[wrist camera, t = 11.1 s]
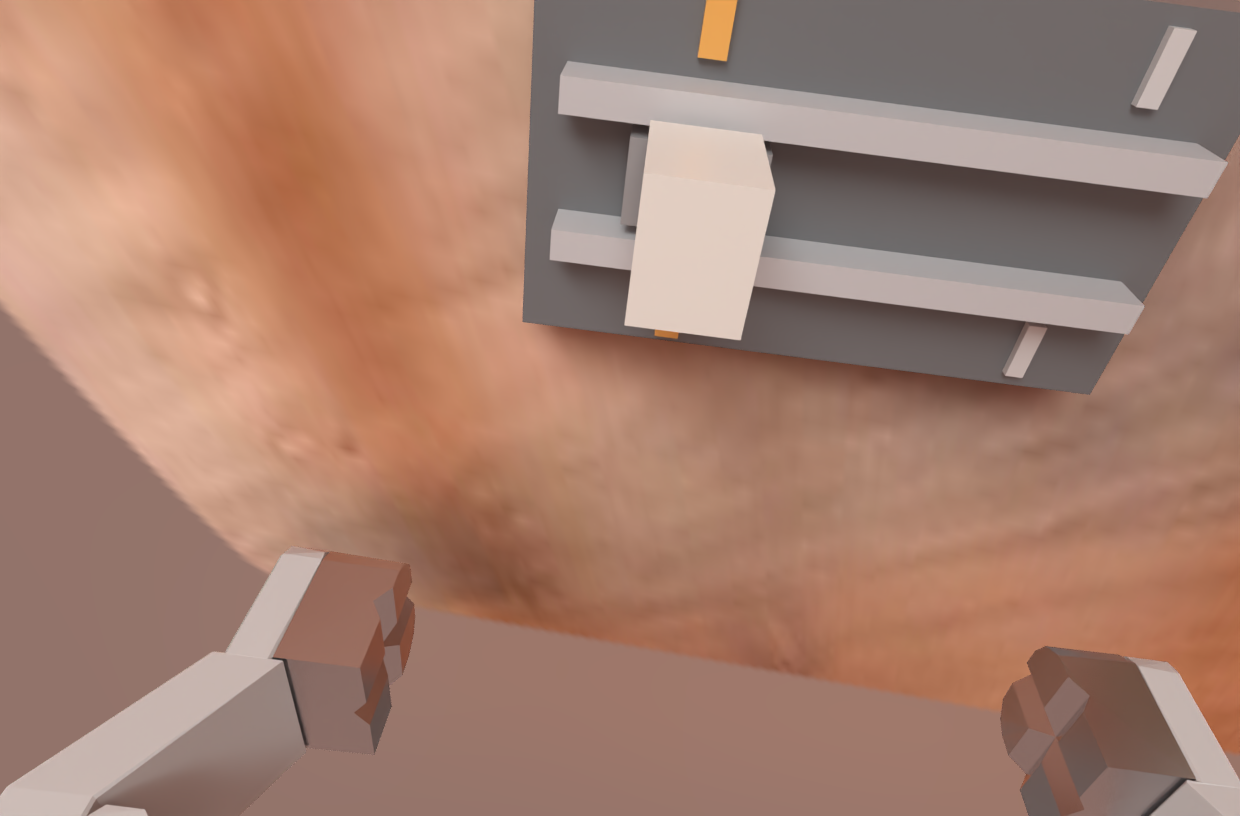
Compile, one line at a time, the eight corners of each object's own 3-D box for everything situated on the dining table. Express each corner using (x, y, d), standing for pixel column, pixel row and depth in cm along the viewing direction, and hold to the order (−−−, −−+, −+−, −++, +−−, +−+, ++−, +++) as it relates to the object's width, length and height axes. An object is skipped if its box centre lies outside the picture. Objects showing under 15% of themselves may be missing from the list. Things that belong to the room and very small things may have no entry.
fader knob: (774, 116, 22) (797, 193, 18) (746, 245, 25) (759, 342, 20) (635, 98, 22) (621, 169, 18) (620, 229, 25) (605, 323, 20)
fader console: (1239, 0, 23) (1346, 34, 19) (1057, 348, 30) (1109, 422, 26) (553, -91, 23) (527, -74, 19) (535, 281, 30) (514, 346, 26)
